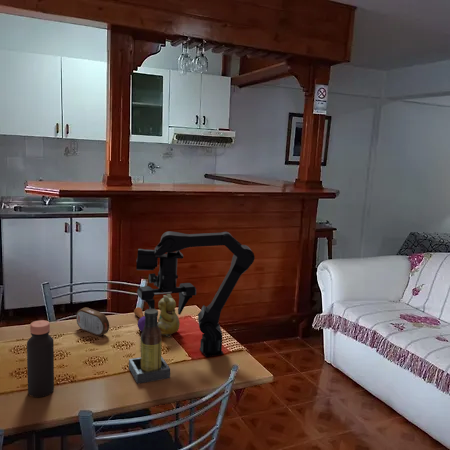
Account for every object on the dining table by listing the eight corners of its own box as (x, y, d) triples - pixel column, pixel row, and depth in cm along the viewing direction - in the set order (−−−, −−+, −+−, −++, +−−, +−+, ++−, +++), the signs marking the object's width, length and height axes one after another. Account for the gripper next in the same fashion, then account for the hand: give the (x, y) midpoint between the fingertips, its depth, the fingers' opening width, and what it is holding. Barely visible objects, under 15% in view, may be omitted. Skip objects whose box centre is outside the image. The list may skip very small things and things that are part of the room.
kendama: (146, 304, 191) (156, 319, 172) (143, 319, 191) (153, 335, 172) (132, 303, 189) (140, 317, 170) (129, 317, 189) (137, 333, 170)
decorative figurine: (159, 327, 179) (161, 289, 176) (181, 328, 178) (182, 291, 176) (154, 337, 169) (155, 297, 167) (176, 339, 169) (178, 299, 166)
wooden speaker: (109, 336, 168) (110, 314, 167) (103, 339, 166) (103, 316, 164) (81, 325, 176) (81, 304, 175) (74, 328, 173) (74, 306, 172)
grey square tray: (159, 363, 150) (160, 354, 150) (170, 377, 141) (170, 368, 141) (128, 368, 146) (128, 359, 146) (137, 383, 137) (137, 374, 137)
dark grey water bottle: (28, 399, 126) (26, 329, 122) (27, 387, 132) (26, 320, 128) (54, 395, 129) (54, 326, 125) (53, 383, 135) (52, 317, 131)
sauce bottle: (150, 364, 148) (152, 304, 144) (165, 371, 144) (167, 310, 141) (135, 372, 142) (136, 310, 139) (150, 379, 139) (152, 315, 135)
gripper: (185, 262, 164) (183, 304, 167) (133, 265, 156) (132, 310, 159) (198, 271, 154) (195, 316, 157) (142, 275, 146) (141, 322, 149)
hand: (166, 315), depth 156 cm, fingers open, 9 cm apart
